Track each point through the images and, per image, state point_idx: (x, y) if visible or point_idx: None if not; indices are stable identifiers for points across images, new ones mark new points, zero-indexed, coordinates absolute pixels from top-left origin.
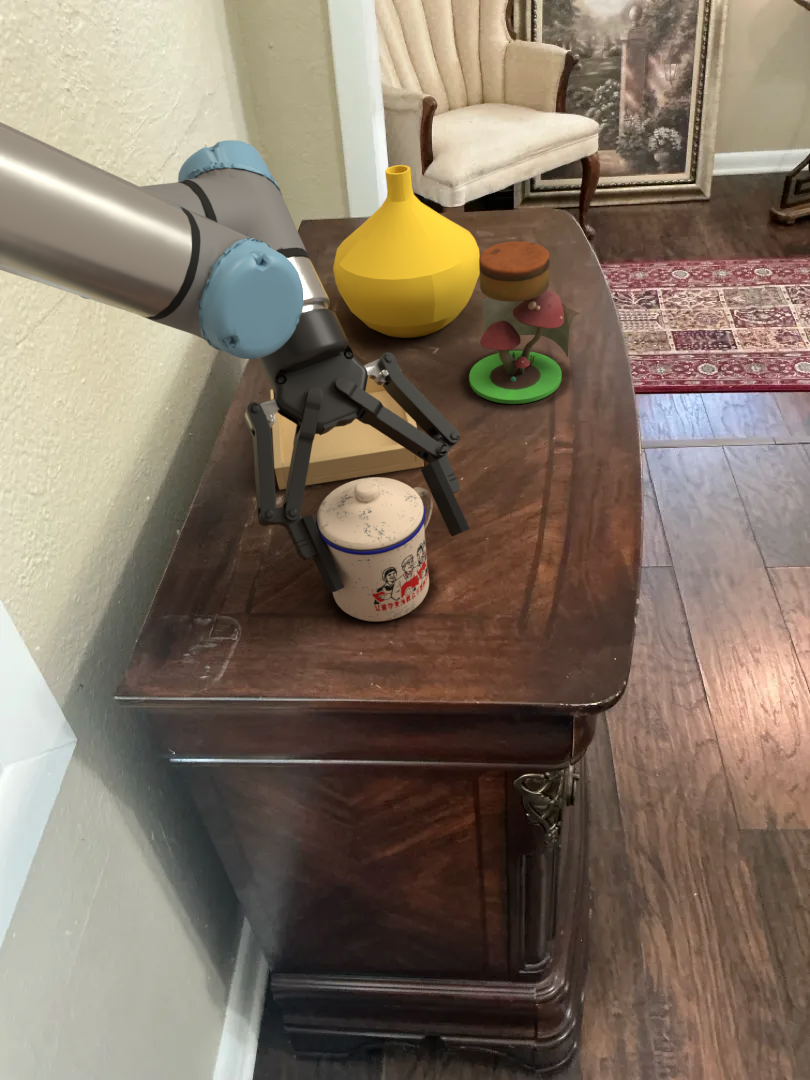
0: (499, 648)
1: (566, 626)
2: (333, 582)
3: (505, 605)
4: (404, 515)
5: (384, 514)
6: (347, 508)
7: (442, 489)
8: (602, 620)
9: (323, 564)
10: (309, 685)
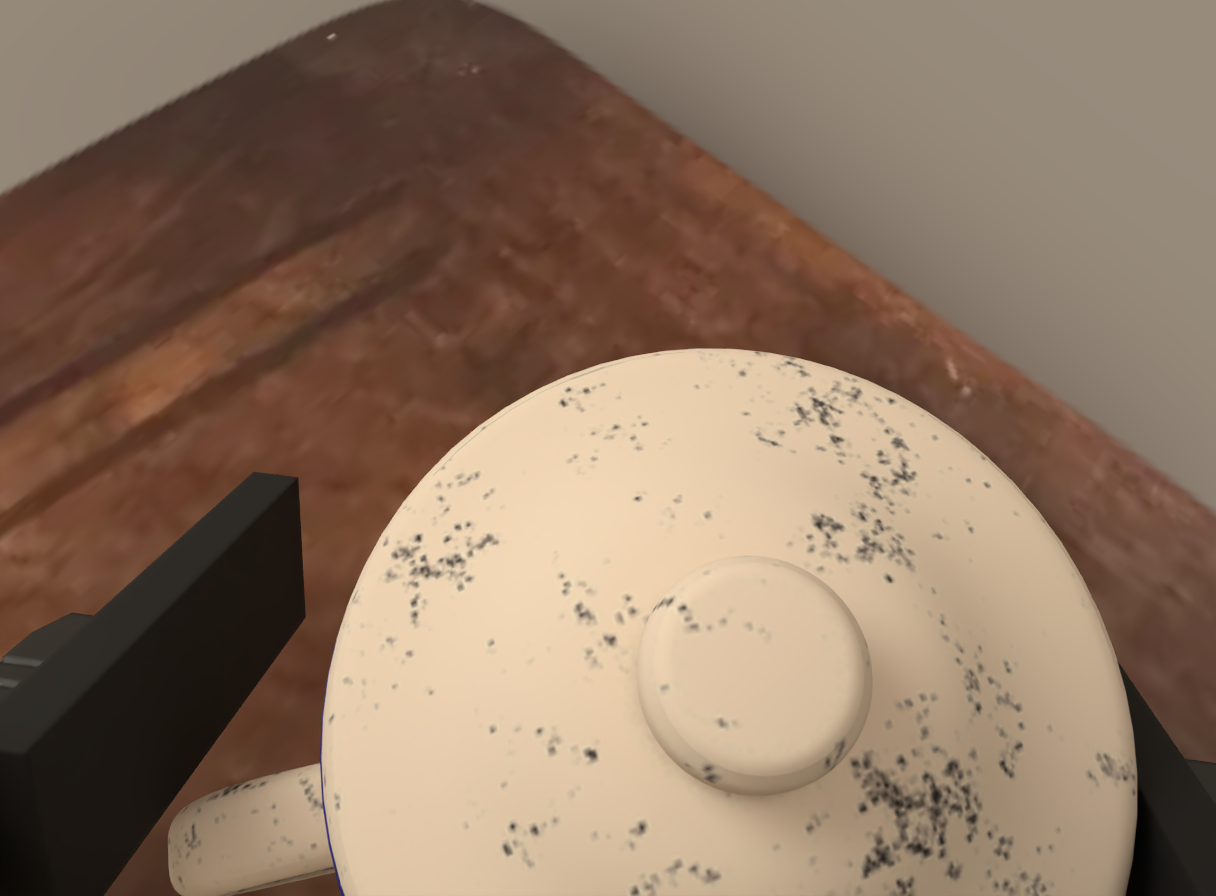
0: (541, 244)
1: (323, 182)
2: None
3: (385, 359)
4: (598, 432)
5: (734, 464)
6: (949, 696)
7: (165, 612)
8: (230, 135)
9: None
10: (1165, 524)
